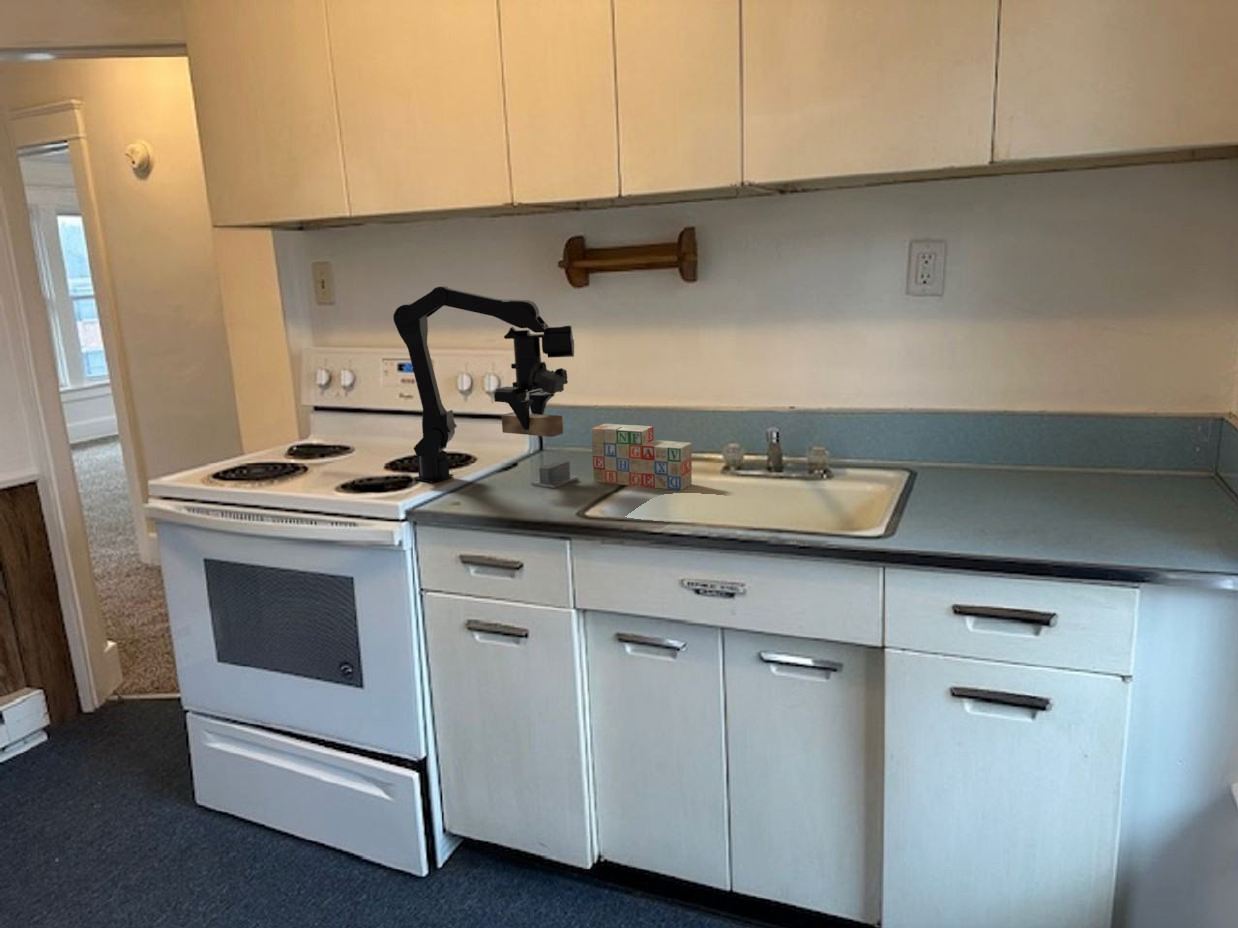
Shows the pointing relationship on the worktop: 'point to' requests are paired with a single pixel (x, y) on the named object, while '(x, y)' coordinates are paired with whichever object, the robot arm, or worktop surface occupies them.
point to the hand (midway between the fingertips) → (532, 428)
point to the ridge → (555, 475)
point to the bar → (533, 425)
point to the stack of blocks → (639, 458)
